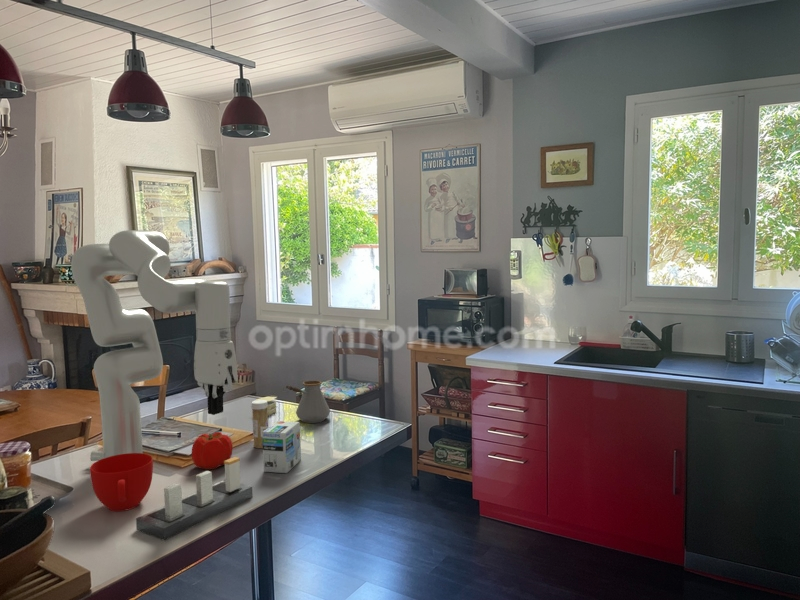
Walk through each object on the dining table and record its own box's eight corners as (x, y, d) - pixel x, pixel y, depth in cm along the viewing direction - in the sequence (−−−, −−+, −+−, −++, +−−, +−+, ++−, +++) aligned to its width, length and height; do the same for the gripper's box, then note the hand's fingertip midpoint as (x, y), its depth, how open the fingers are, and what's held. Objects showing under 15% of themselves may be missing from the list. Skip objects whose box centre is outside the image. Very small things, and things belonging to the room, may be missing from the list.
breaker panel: (164, 540, 119) (162, 495, 118) (136, 530, 124) (134, 486, 123) (252, 496, 139) (251, 458, 139) (225, 489, 144) (224, 451, 143)
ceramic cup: (89, 530, 124) (86, 483, 123) (94, 499, 140) (91, 458, 139) (156, 518, 129) (153, 473, 128) (154, 489, 145) (152, 449, 144)
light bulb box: (287, 474, 153) (285, 433, 153) (262, 472, 155) (261, 431, 154) (301, 459, 164) (300, 421, 163) (279, 458, 165) (277, 420, 164)
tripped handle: (230, 492, 135) (229, 462, 134) (225, 490, 136) (223, 461, 135) (241, 487, 138) (239, 457, 137) (235, 485, 139) (234, 456, 138)
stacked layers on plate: (264, 409, 217) (264, 394, 217) (285, 411, 214) (284, 396, 213) (247, 416, 208) (246, 401, 208) (268, 419, 205) (267, 403, 204)
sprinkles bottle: (269, 447, 174) (267, 402, 173) (253, 449, 173) (251, 403, 172) (269, 443, 178) (267, 398, 177) (253, 444, 177) (251, 400, 176)
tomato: (241, 463, 162) (240, 432, 161) (208, 476, 152) (207, 443, 152) (215, 456, 167) (214, 426, 167) (182, 469, 158) (180, 437, 158)
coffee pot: (307, 413, 209) (306, 371, 208) (336, 417, 205) (335, 374, 203) (271, 431, 190) (270, 385, 188) (302, 435, 185) (301, 387, 184)
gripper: (248, 335, 136) (250, 414, 138) (204, 330, 144) (206, 404, 146) (223, 340, 130) (225, 422, 132) (178, 334, 138) (181, 412, 140)
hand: (215, 412), depth 139 cm, fingers closed
